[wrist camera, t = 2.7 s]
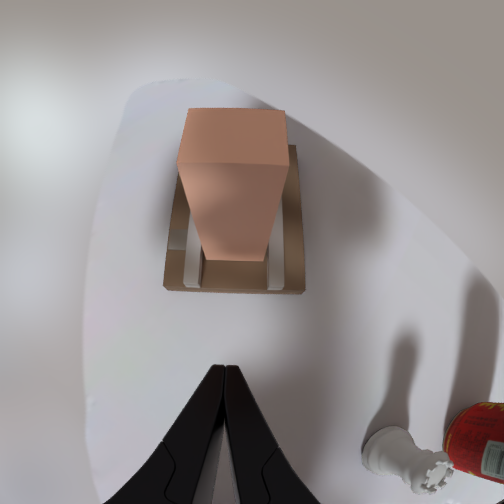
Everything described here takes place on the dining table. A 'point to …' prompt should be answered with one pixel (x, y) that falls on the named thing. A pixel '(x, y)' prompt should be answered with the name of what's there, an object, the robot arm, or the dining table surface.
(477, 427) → the soda can
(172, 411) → the dining table surface
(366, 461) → the rook chess piece
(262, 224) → the slider tab
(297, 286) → the wooden rail base
